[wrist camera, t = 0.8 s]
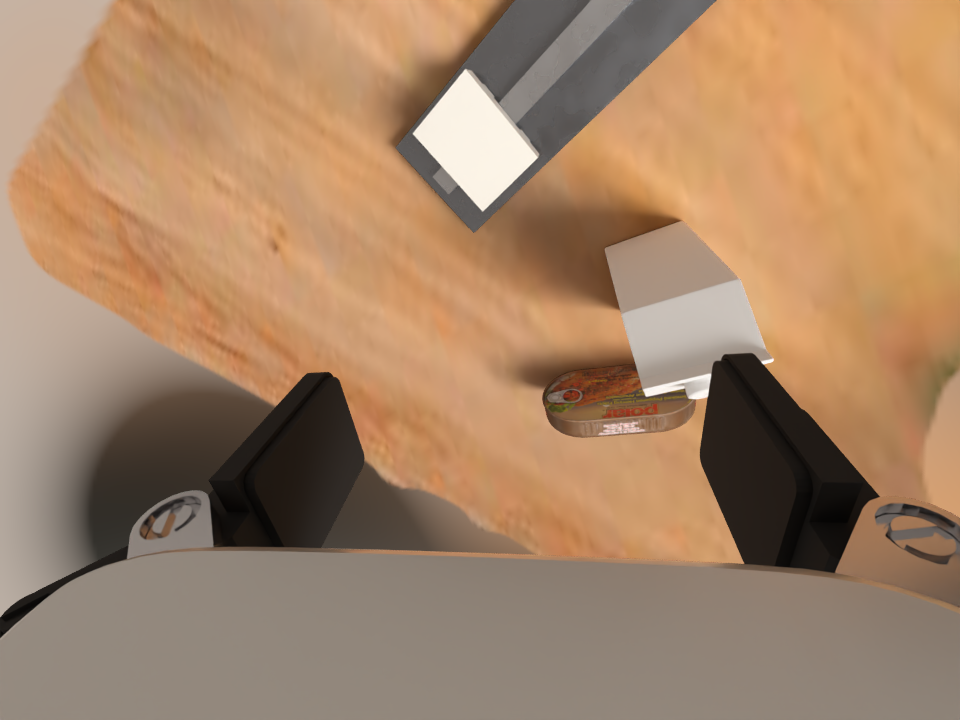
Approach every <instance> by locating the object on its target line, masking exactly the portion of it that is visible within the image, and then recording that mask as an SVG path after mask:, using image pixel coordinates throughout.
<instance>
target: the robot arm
mask: <svg viewBox="0 0 960 720" xmlns="http://www.w3.org/2000/svg"><path fill="white" fill-rule="evenodd" d="M700 460H701V464H702V467H703V469H704V472H705V474H706V476H707V479H708V481H709V483H710V486H711V488H712V490H713V492H714V495H715V497H716V499H717V502H718V504H719V506H720V509H721V511H722V513H723V515H724V518H725V520H726V522H727V525H728V527H729V529H730V532H731V534H732V536H733V538H734V541H735V543H736V545H737V548H738V550H739V552H740V555H741V557H742V559H743V561H744V564H735V563H716V562H695V561H677V560H655V559H629V558H604V557H578V556H552V555H525V554H524V555H523V554H495V553H494V554H493V553H465V552H432V551H402V550H368V549H367V550H366V549H331V548H329V549H328V548H321V547H322V545H323V543H324V541H325V539H326V537H327V535H328V533H329V531H330V530H331V528H332V526H333V524H334V522H335V520H336V518H337V516H338V514H339V512H340V510H341V508H342V506H343V504H344V502H345V501H346V499H347V496H348V495H349V493H350V491H351V489H352V487H353V485H354V483H355V481H356V479H357V477H358V475H359V473H360V472H361V470H362V467H363V465H364V453H363V450H362V447H361V444H360V441H359V438H358V435H357V432H356V429H355V426H354V423H353V420H352V417H351V414H350V411H349V408H348V405H347V402H346V399H345V396H344V393H343V390H342V387H341V384H340V381H339V380H338V378H336V377H333V375H332V374H331V373H329V372H321V373H307V374H306V375H305V376H304V377H303V378H302V379H301V380H300V381H299V382H298V383H297V384H296V386H295V387H294V388H293V389H292V390H291V391H290V392H289V393H288V394H287V395H286V396H285V398H284V399H283V400H282V401H281V402H280V403H279V404H278V405H277V406H276V407H275V408H274V410H273V411H272V412H271V413H270V414H269V415H268V416H267V417H266V418H265V419H264V421H263V422H262V423H261V424H260V425H259V426H258V427H257V428H256V429H255V430H254V431H253V433H252V434H251V435H250V436H249V437H248V438H247V439H246V440H245V441H244V442H243V444H242V445H241V446H240V447H239V448H238V449H237V450H236V451H235V452H234V453H233V455H232V456H231V457H230V458H229V459H228V460H227V461H226V462H225V463H224V464H223V465H222V466H221V467H220V469H219V470H218V471H217V472H216V473H215V474H214V475H213V476H212V477H211V478H210V480H209V482H210V484H211V485H212V487H213V489H214V490H213V491H212V492H211V493H210V494H209V495H207V494H205V493H204V492H202V491H194V490H193V491H187V492H182V493H179V494H176V495H173V496H171V497H169V498H167V499H165V500H163V501H161V502H159V503H158V504H156V505H155V506H154V507H152V508H151V509H149V510H148V511H147V512H146V513H145V514H144V515H143V516H141V517H140V518H139V520H138V521H137V523H136V524H135V525H134V526H133V529H132V531H131V534H130V540H129V545H128V546H126V547H124V548H122V549H120V550H118V551H116V552H115V553H112V554H110V555H108V556H106V557H104V558H102V559H101V560H98V561H96V562H94V563H92V564H90V565H88V566H86V567H84V568H82V569H80V570H79V571H76V572H74V573H72V574H70V575H68V576H66V577H64V578H62V579H60V580H58V581H56V582H54V583H52V584H50V585H48V586H46V587H44V588H42V589H40V590H38V591H36V592H35V593H32V594H30V595H28V596H26V597H24V598H22V599H20V600H19V601H17V602H16V603H15V604H13V605H12V606H11V607H10V608H9V609H8V610H6V611H5V613H4V614H3V615H2V616H1V617H0V720H960V518H959V517H957V516H956V515H954V514H952V513H951V512H948V511H946V510H944V509H942V508H939V507H937V506H935V505H933V504H930V503H926V502H923V501H920V500H916V499H913V498H906V497H899V496H885V497H880V496H879V495H878V494H877V493H876V492H875V490H874V489H873V488H872V487H871V486H870V485H869V484H868V482H867V481H866V480H865V479H864V478H863V477H862V475H861V474H860V473H859V472H858V471H857V470H856V468H855V467H854V466H853V465H852V464H851V463H850V461H849V460H848V459H847V458H846V457H845V456H844V454H843V453H842V452H841V451H840V450H839V449H838V448H837V446H836V445H835V444H834V443H833V442H832V441H831V439H830V438H829V437H828V436H827V435H826V434H825V432H824V431H823V430H822V429H821V428H820V427H819V425H818V424H817V423H816V422H815V421H814V420H813V418H812V417H811V416H810V415H809V414H808V413H807V412H806V411H804V410H802V409H801V408H800V407H799V406H798V405H797V403H796V402H795V401H794V400H793V399H792V398H791V396H790V395H789V394H788V393H787V392H786V391H785V389H784V388H783V387H782V386H781V385H780V383H779V382H778V381H777V380H776V379H775V378H774V376H773V375H772V374H771V373H770V372H769V371H768V369H767V368H766V367H765V366H764V365H763V363H762V362H761V361H760V360H759V359H758V358H757V356H756V355H755V354H753V353H738V354H724V355H723V356H722V358H721V361H715V362H714V363H713V366H712V372H711V379H710V386H709V393H708V399H707V406H706V413H705V420H704V426H703V433H702V440H701V447H700Z"/></svg>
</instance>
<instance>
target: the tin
mask: <svg viewBox="0 0 960 720" xmlns="http://www.w3.org/2000/svg"><path fill="white" fill-rule="evenodd" d="M542 400H543V404H544V406H545V410H546V415H547V418H548V420H549V422H550V424H551V425H552V426H553V427H554V428H555V429H556V430H558V431H559V432H561V433H563V434H566V435H569V436H573V437H581V438H584V437H600V436H613V435H626V434H640V433H654V432H664V431H669V430H672V429H675V428H677V427H680V426H682V425H683V424H685V423H686V422H687V421H688V420H689V419H690V418H691V417H692V415H693V413H694V411H695V406H696V399H689V398H688V397H687V394H686V390H685V388H684V389H680V390H675V391H671V392H666V393H662V394H658V395H653V396H648V397H646V396H645V393H644V391H643V389H642V385H641V382H640V378H639V375H638V371H637V368H636V364H631V365H622V366H614V367H604V368H595V369H586V370H577V371H572V372H569V373H566V374H563V375H561V376H559V377H557V378H556V379H554V380H553V381H552V382H550V383H549V385H548V386H547V387H546V389H545V390H544V393H543V398H542Z"/></svg>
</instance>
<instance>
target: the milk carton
mask: <svg viewBox="0 0 960 720" xmlns="http://www.w3.org/2000/svg"><path fill="white" fill-rule="evenodd" d="M605 254H606V258H607V261H608V265H609V269H610V273H611V277H612V281H613V285H614V288H615V292H616V296H617V300H618V304H619V308H620V312H621V316H622V319H623V323H624V326H625V329H626V333H627V336H628V340H629V343H630V347H631V350H632V354H633V357H634V361H635V364H636V368H637V371H638V375H639V378H640V382H641V385H642V389H643V391H644V393H645V396H646V397H648V396H653V395H658V394H662V393H666V392H671V391H675V390H680V389H684V388H685V390H686V394H687V397H688V398H689V399H701V398H706V397H708V393H709V386H710V379H711V372H712V366H713V363H714V362H715V361H721V358H722V356H723V355H724V354H738V353H753V354H755V355H756V356H757V358H758V359H759V360H760V361H761V362H762V363H763V364H767V363H771V362H773V358H772V356H771V355H770V354H769V353H768V351H767V350H766V348H765V345H764V342H763V339H762V337H761V334H760V331H759V328H758V326H757V323H756V320H755V318H754V315H753V312H752V309H751V307H750V304H749V301H748V298H747V296H746V293H745V290H744V287H743V285H742V282H741V279H739V278H738V277H737V276H736V275H735V274H734V273H733V272H732V271H731V269H730V268H729V267H728V266H727V265H726V264H725V263H724V262H723V261H722V260H721V259H720V258H719V257H718V256H717V255H716V254H715V253H714V252H713V251H712V250H711V249H710V248H709V247H708V246H707V245H706V244H705V242H704V241H703V240H702V239H701V238H700V237H699V236H698V235H697V234H696V233H695V232H694V231H693V230H692V229H691V228H690V227H689V226H688V225H687V224H686V223H685V222H684V221H680V222H677V223H674V224H671V225H668V226H665V227H662V228H660V229H657V230H654V231H651V232H648V233H645V234H643V235H640V236H637V237H634V238H631V239H628V240H625V241H623V242H620V243H617V244H614V245H611V246H609V247H606V248H605Z"/></svg>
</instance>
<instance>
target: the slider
mask: <svg viewBox="0 0 960 720" xmlns="http://www.w3.org/2000/svg"><path fill="white" fill-rule="evenodd" d="M413 135H414V136H415V137H416V138H417V139H418V140H419V141H420V142H421V144H422V145H423V146H424V147H425V148H426V149H427V150H428V151H429V153H430V154H431V155H432V156H433V157H434V158H435V159H436V160H437V161H438V163H439V164H440V165H441V166H442V167H443V168H444V169H445V170H446V171H447V173H448V174H449V175H450V176H451V177H452V178H453V179H454V180H455V182H456V183H457V184H458V185H459V186H460V187H461V188H462V189H463V190H464V192H465V193H466V194H467V195H468V196H469V197H470V198H471V199H472V200H473V202H474V203H475V204H476V205H477V206H478V207H479V208H480V209H481V210H482V212H483V211H484V210H485V209H486V208H487V207H488V206H489V205H490V204H491V203H492V202H493V201H494V200H495V199H496V198H497V197H498V196H499V195H500V194H501V193H502V192H503V191H504V190H505V189H506V188H508V187H509V186H510V185H511V184H512V183H513V182H514V181H515V180H516V179H517V178H518V177H519V176H520V175H521V174H522V173H523V172H524V171H525V170H526V169H527V168H528V167H529V166H530V165H531V164H532V163H533V162H534V161H535V160H536V159H537V158H538V157H539V153H538V152H537V150H536V149H535V148H534V147H533V145H532V144H531V143H530V142H531V141H530V140H529V138H528V137H527V136H526V135H525V134H524V132H523V131H522V130H520V129H519V128H518V127H517V126H516V125H515V123H514V122H513V121H512V120H511V118H510V117H509V116H508V115H507V113H506V112H505V111H504V110H503V108H502V107H501V106H500V105H499V104H498V102H497V101H496V100H495V99H494V95H493V94H492V93H491V92H490V90H489V89H488V88H487V87H486V85H485V84H482V83H481V81H480V80H479V79H478V78H477V76H476V75H475V74H474V73H473V72H472V71H471V70H468V69H465V70H464V71H463V73H462V74H461V75H460V76H459V77H458V79H457V80H456V81H455V82H454V84H453V85H452V86H451V87H450V88H449V90H448V91H447V92H446V93H445V95H444V96H443V97H442V98H441V99H440V101H439V102H438V103H437V104H436V106H435V107H434V108H433V109H432V110H431V112H430V113H429V114H428V115H427V117H426V118H425V119H424V120H423V121H422V123H421V124H420V125H419V126H418V128H417V129H416V130H415V131H414V133H413Z"/></svg>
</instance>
